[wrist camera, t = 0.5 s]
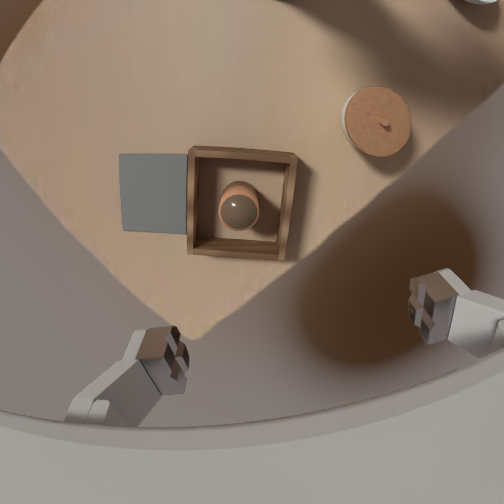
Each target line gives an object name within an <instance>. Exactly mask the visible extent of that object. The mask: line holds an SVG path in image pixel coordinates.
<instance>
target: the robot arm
mask: <svg viewBox="0 0 504 504" xmlns="http://www.w3.org/2000/svg"><path fill="white" fill-rule="evenodd" d="M410 290H411V292H412V293H413V294H412V295H411V297H410V298H409V304H408V309H409V315H410V318H411V320H412V322H413V323H414V325H416V326H419V327H420V334H421V336H422V337H423V339H424V340H425V342H426V344H427V345H429V344H432V343H435V342H438V341H441V340H445V339H448V340H449V341H451V342H452V343H454V344H456V345H458V346H459V347H461V348H463V349H464V350H466V351H468V352H469V353H471V354H473V355H474V356H476V357H477V358H479V359H478V360H476V361H474V362H471V363H469V364H467V365H464V366H462V367H460V368H457V369H455V370H452V371H450V372H447V373H445V374H442V375H440V376H437V377H434V378H432V379H429V380H426V381H423V382H420V383H418V384H415V385H412V386H409V387H406V388H403V389H399V390H396V391H393V392H390V393H386V394H383V395H380V396H376V397H373V398H369V399H365V400H362V401H358V402H354V403H350V404H346V405H341V406H337V407H333V408H328V409H324V410H319V411H314V412H309V413H304V414H298V415H293V416H286V417H280V418H274V419H267V420H260V421H251V422H243V423H234V424H222V425H211V426H210V425H209V426H192V427H138V425H140V423H141V422H142V421H143V419H144V418H145V417H146V416H147V415H148V413H149V412H150V411H151V410H152V408H153V407H154V406H155V405H156V403H157V402H158V401H159V400H160V398H161V397H162V395H174V394H183V393H184V392H185V386H186V381H187V378H186V377H185V375H184V374H185V373H186V371H188V369H189V354H188V350H187V348H186V346H185V344H184V343H183V342H181V341H180V340H179V339H180V335H181V334H180V332H179V330H178V328H177V327H176V326H167V327H157V328H149V329H140V330H136V331H134V333H133V336H132V337H131V340H130V342H129V345H128V347H127V350H126V352H125V354H124V357H123V359H122V361H118V362H116V363H115V364H114V365H113V366H112V367H110V368H109V369H108V370H107V371H106V372H104V373H103V374H102V375H101V376H100V377H98V378H97V379H96V380H95V381H94V382H92V383H91V384H90V385H89V386H88V387H86V388H85V389H84V390H83V391H82V392H80V393H79V394H78V395H77V396H75V397H74V399H73V401H72V403H71V406H70V408H69V410H68V412H67V415H66V417H65V419H64V421H56V420H49V419H43V418H37V417H32V416H26V415H21V414H16V413H11V412H7V411H3V410H0V504H504V300H503V299H500V298H497V297H494V296H491V295H489V294H485V293H483V292H480V291H477V290H473V291H471V290H470V289H469V288H468V287H467V286H466V285H465V284H464V283H463V282H462V281H461V280H460V279H459V278H458V277H457V276H456V275H455V274H454V273H453V272H452V271H451V270H450V269H448V268H446V269H443V270H439V271H436V272H434V273H431V274H427V275H424V276H420V277H416V278H413V279H411V282H410Z"/></svg>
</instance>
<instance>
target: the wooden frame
mask: <svg viewBox="0 0 504 504" xmlns="http://www.w3.org/2000/svg"><path fill="white" fill-rule="evenodd" d="M200 157H210V158H228V159H243V160H257V161H269V162H279V163H286V166H285V175H284V183H283V192H282V200H281V209H280V217H279V225H278V233H277V241H276V242H270V241H255V240H241V239H225V238H210V237H197V226H198V185H199V159H200ZM297 163H298V157H297V156H296V155H295V154H294V153H290V152H280V151H270V150H258V149H245V148H231V147H212V146H193V147H192V148H190V149H189V151H188V184H187V254H191V255H206V256H221V257H237V258H252V259H267V260H283V261H284V259H285V253H286V246H287V239H288V232H289V224H290V217H291V210H292V202H293V194H294V187H295V179H296V171H297Z"/></svg>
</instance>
